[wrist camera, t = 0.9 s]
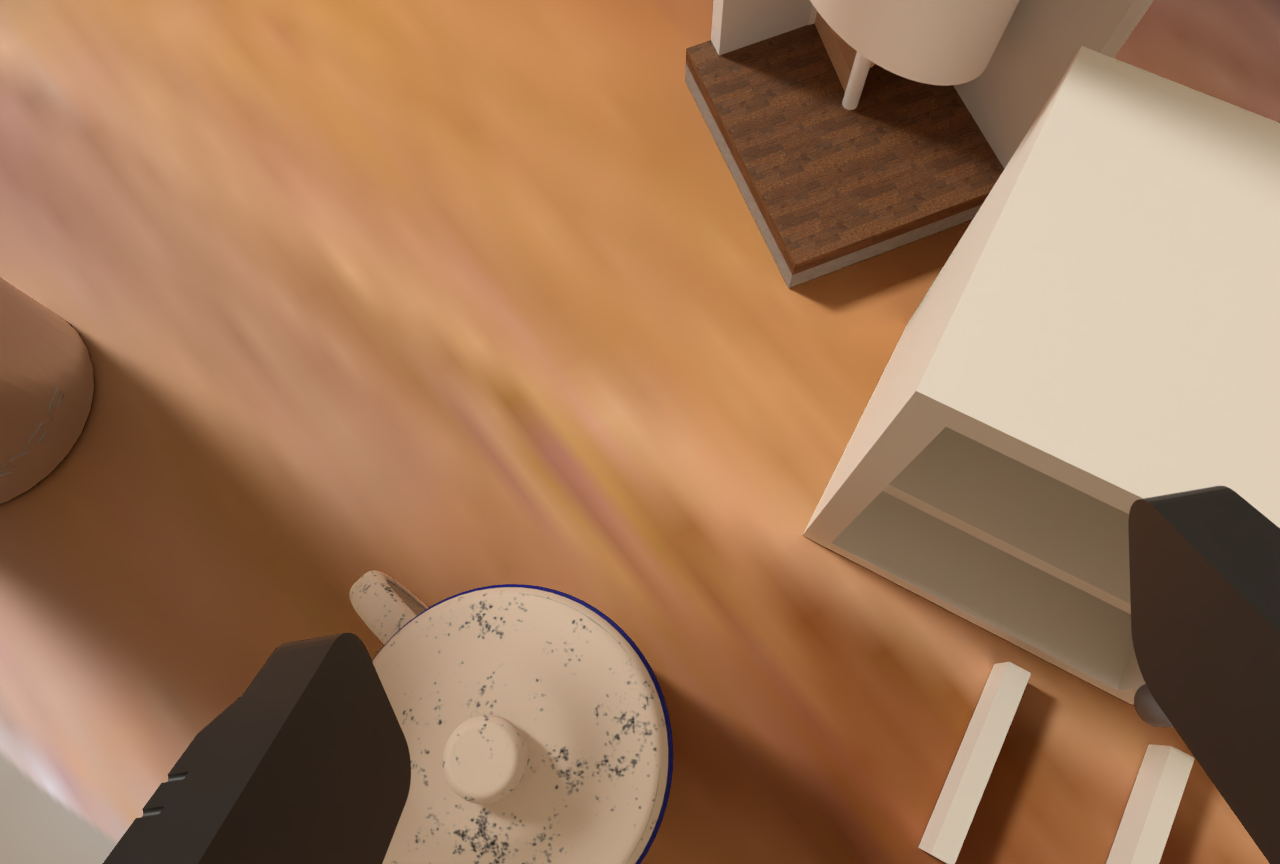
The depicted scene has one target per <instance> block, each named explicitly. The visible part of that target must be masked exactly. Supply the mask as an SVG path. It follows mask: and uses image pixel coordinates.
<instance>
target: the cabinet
mask: <svg viewBox="0 0 1280 864" xmlns="http://www.w3.org/2000/svg"><path fill="white" fill-rule="evenodd" d="M1214 486H1226V487H1228V488H1230V489H1232V490H1233V491H1235V492H1236V493H1237V494H1239V495H1240V496H1241V497H1242V498H1243V499H1245V500H1246V501H1247V502H1248V503H1249V504H1251V505H1252V506H1253V507H1254V508H1256V509H1257V510H1258V511H1259V512H1260V513H1262V514H1263V515H1264V516H1265V517H1267V518H1268V519H1269V520H1270V521H1271V522H1273V523H1274V524H1275V525H1276V526H1277V527H1279V528H1280V123H1278V122H1276V121H1273V120H1271V119H1268V118H1266V117H1263V116H1260V115H1258V114H1255V113H1253V112H1250V111H1248V110H1245V109H1242V108H1240V107H1237V106H1235V105H1232V104H1230V103H1227V102H1225V101H1222V100H1219V99H1217V98H1214V97H1212V96H1209V95H1207V94H1204V93H1201V92H1199V91H1196V90H1194V89H1191V88H1189V87H1186V86H1183V85H1181V84H1178V83H1176V82H1173V81H1171V80H1168V79H1165V78H1163V77H1160V76H1158V75H1155V74H1153V73H1150V72H1148V71H1145V70H1142V69H1140V68H1137V67H1135V66H1132V65H1130V64H1127V63H1124V62H1122V61H1119V60H1117V59H1114V58H1112V57H1109V56H1106V55H1104V54H1101V53H1099V52H1096V51H1094V50H1091V49H1088V48H1086V47H1083V46H1081V48H1080V49H1079V51H1078V53H1077V54H1076V56H1075V57H1074V59H1073V61H1072V62H1071V64H1070V65H1069V67H1068V69H1067V70H1066V72H1065V73H1064V75H1063V76H1062V78H1061V80H1060V81H1059V83H1058V84H1057V86H1056V88H1055V89H1054V91H1053V92H1052V94H1051V96H1050V97H1049V99H1048V100H1047V102H1046V104H1045V105H1044V107H1043V108H1042V110H1041V112H1040V113H1039V115H1038V116H1037V118H1036V120H1035V121H1034V123H1033V124H1032V126H1031V128H1030V129H1029V131H1028V132H1027V134H1026V136H1025V137H1024V139H1023V140H1022V142H1021V143H1020V145H1019V147H1018V148H1017V150H1016V151H1015V153H1014V155H1013V156H1012V158H1011V159H1010V161H1009V163H1008V164H1007V166H1006V167H1005V169H1004V171H1003V172H1002V174H1001V175H1000V177H999V179H998V180H997V182H996V183H995V185H994V187H993V188H992V190H991V191H990V193H989V195H988V196H987V198H986V199H985V201H984V203H983V204H982V206H981V207H980V209H979V211H978V212H977V214H976V215H975V217H974V218H973V220H972V222H971V223H970V225H969V226H968V228H967V230H966V231H965V233H964V234H963V236H962V238H961V239H960V241H959V242H958V244H957V246H956V247H955V249H954V250H953V252H952V254H951V255H950V257H949V258H948V260H947V262H946V263H945V265H944V266H943V268H942V270H941V271H940V273H939V274H938V276H937V278H936V279H935V281H934V282H933V284H932V285H931V287H930V289H929V290H928V292H927V293H926V295H925V297H924V298H923V300H922V301H921V303H920V305H919V306H918V308H917V309H916V311H915V313H914V314H913V316H912V317H911V319H910V321H909V322H908V324H907V325H906V327H905V329H904V332H903V334H902V336H901V338H900V340H899V342H898V344H897V346H896V348H895V350H894V352H893V354H892V356H891V358H890V360H889V362H888V364H887V366H886V368H885V370H884V372H883V374H882V376H881V378H880V380H879V382H878V384H877V386H876V388H875V390H874V392H873V394H872V396H871V398H870V400H869V402H868V404H867V406H866V408H865V410H864V412H863V414H862V416H861V418H860V420H859V422H858V424H857V426H856V428H855V431H854V433H853V435H852V437H851V439H850V441H849V443H848V445H847V447H846V449H845V451H844V453H843V455H842V457H841V459H840V461H839V463H838V465H837V467H836V469H835V471H834V473H833V475H832V477H831V479H830V481H829V483H828V485H827V487H826V489H825V491H824V493H823V495H822V497H821V499H820V501H819V503H818V505H817V507H816V509H815V511H814V513H813V515H812V517H811V519H810V521H809V523H808V525H807V527H806V529H805V532H804V534H803V536H805V537H807V538H809V539H811V540H812V541H814V542H816V543H818V544H820V545H822V546H824V547H826V548H828V549H830V550H832V551H834V552H836V553H838V554H840V555H842V556H844V557H845V558H847V559H849V560H851V561H853V562H855V563H857V564H859V565H861V566H863V567H865V568H867V569H869V570H871V571H873V572H875V573H877V574H878V575H880V576H882V577H884V578H886V579H888V580H890V581H892V582H894V583H896V584H898V585H900V586H902V587H904V588H906V589H908V590H910V591H911V592H913V593H915V594H917V595H919V596H921V597H923V598H925V599H927V600H929V601H931V602H933V603H935V604H937V605H939V606H941V607H943V608H944V609H946V610H948V611H950V612H952V613H954V614H956V615H958V616H960V617H962V618H964V619H966V620H968V621H970V622H972V623H974V624H976V625H977V626H979V627H981V628H983V629H985V630H987V631H989V632H991V633H993V634H995V635H997V636H999V637H1001V638H1003V639H1005V640H1007V641H1009V642H1010V643H1012V644H1014V645H1016V646H1018V647H1020V648H1022V649H1024V650H1026V651H1028V652H1030V653H1032V654H1034V655H1036V656H1038V657H1040V658H1042V659H1043V660H1045V661H1047V662H1049V663H1051V664H1053V665H1055V666H1057V667H1059V668H1061V669H1063V670H1065V671H1067V672H1069V673H1071V674H1073V675H1074V676H1076V677H1078V678H1080V679H1082V680H1084V681H1086V682H1088V683H1090V684H1092V685H1094V686H1096V687H1098V688H1100V689H1102V690H1104V691H1106V692H1107V693H1109V694H1111V695H1113V696H1115V697H1117V698H1119V699H1121V700H1123V701H1125V702H1127V703H1129V704H1134V706H1135V709H1136V711H1137V713H1138V715H1139V716H1140V718H1141V719H1142V720H1143V721H1145V722H1146V723H1148V724H1149V725H1152V726H1155V727H1173V725H1172V724H1171V722H1170V721H1169V720H1168V718H1167V717H1166V715H1165V714H1164V712H1163V711H1162V710H1161V708H1160V707H1159V705H1158V704H1157V703H1156V701H1155V699H1154V698H1153V696H1152V695H1151V693H1150V691H1149V689H1148V687H1147V685H1146V683H1145V681H1144V679H1143V676H1142V674H1141V671H1140V668H1139V665H1138V662H1137V659H1136V655H1135V651H1134V646H1133V640H1132V631H1131V600H1130V565H1129V530H1128V521H1129V512H1130V509H1131V506H1132V504H1133V503H1134V502H1135V501H1136V500H1139V499H1144V498H1149V497H1155V496H1161V495H1167V494H1173V493H1179V492H1185V491H1190V490H1196V489H1202V488H1208V487H1214ZM1030 675H1031V673H1030V672H1028V671H1026V670H1024V669H1023V668H1021V667H1019V666H1017V665H1015V664H1013V663H1011V662H1004V663H997V664H994V666H993V668H992V670H991V673H990V675H989V678H988V680H987V683H986V685H985V687H984V690H983V692H982V695H981V697H980V700H979V702H978V704H977V707H976V709H975V712H974V714H973V716H972V719H971V721H970V724H969V726H968V729H967V731H966V733H965V736H964V738H963V741H962V743H961V745H960V748H959V750H958V753H957V755H956V758H955V760H954V762H953V765H952V767H951V770H950V772H949V774H948V777H947V779H946V782H945V784H944V787H943V789H942V791H941V794H940V796H939V799H938V801H937V803H936V806H935V808H934V811H933V813H932V816H931V818H930V820H929V823H928V825H927V828H926V830H925V833H924V835H923V837H922V840H921V842H920V845H919V847H918V848H920V849H922V850H924V851H925V852H927V853H929V854H931V855H932V856H934V857H936V858H938V859H939V860H941V861H943V862H945V863H947V864H955V862H956V860H957V857H958V855H959V852H960V850H961V847H962V845H963V842H964V840H965V837H966V835H967V832H968V830H969V827H970V825H971V822H972V820H973V817H974V815H975V812H976V810H977V807H978V805H979V802H980V800H981V797H982V795H983V792H984V790H985V787H986V785H987V782H988V780H989V777H990V775H991V772H992V770H993V767H994V765H995V762H996V760H997V757H998V755H999V752H1000V750H1001V747H1002V745H1003V742H1004V740H1005V737H1006V735H1007V732H1008V730H1009V727H1010V725H1011V722H1012V720H1013V717H1014V715H1015V712H1016V710H1017V707H1018V705H1019V702H1020V700H1021V698H1022V695H1023V693H1024V690H1025V688H1026V685H1027V683H1028V680H1029V678H1030ZM1194 759H1195V758H1194V757H1192V756H1190V755H1188V754H1186V753H1184V752H1182V751H1180V750H1179V749H1177V748H1175V747H1173V746H1165V745H1150V744H1148V747H1147V750H1146V753H1145V756H1144V758H1143V761H1142V764H1141V767H1140V770H1139V773H1138V775H1137V778H1136V781H1135V784H1134V787H1133V789H1132V792H1131V795H1130V798H1129V801H1128V804H1127V806H1126V809H1125V812H1124V815H1123V818H1122V820H1121V823H1120V826H1119V829H1118V832H1117V835H1116V837H1115V840H1114V843H1113V846H1112V849H1111V851H1110V854H1109V857H1108V860H1107V863H1106V864H1159V863H1160V860H1161V857H1162V854H1163V851H1164V848H1165V845H1166V842H1167V839H1168V836H1169V833H1170V830H1171V827H1172V824H1173V821H1174V818H1175V815H1176V812H1177V809H1178V807H1179V804H1180V801H1181V798H1182V795H1183V792H1184V789H1185V786H1186V783H1187V780H1188V777H1189V774H1190V771H1191V768H1192V765H1193V762H1194Z"/></svg>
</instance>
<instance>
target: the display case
mask: <svg viewBox="0 0 1280 864" xmlns="http://www.w3.org/2000/svg"><path fill="white" fill-rule="evenodd" d="M1153 1H1154V0H714V4H713V18H712V33H711V40H710V41H707V42H705V43H702V44H699V45H696V46H693V47H690V48H687V49H686V77H685V81H686V83H687V85H688V87H689V89H690V91H691V93H692V95H693V97H694V99H695V101H696V103H697V105H698V107H699V109H700V111H701V113H702V115H703V117H704V119H705V121H706V123H707V125H708V127H709V129H710V131H711V133H712V135H713V137H714V139H715V141H716V143H717V145H718V147H719V149H720V151H721V153H722V155H723V157H724V159H725V161H726V163H727V166H728V168H729V170H730V172H731V174H732V176H733V178H734V180H735V182H736V184H737V186H738V188H739V190H740V192H741V194H742V196H743V198H744V200H745V202H746V204H747V206H748V208H749V210H750V212H751V214H752V216H753V218H754V220H755V222H756V224H757V226H758V228H759V230H760V232H761V234H762V236H763V238H764V240H765V242H766V244H767V246H768V248H769V250H770V252H771V254H772V256H773V258H774V260H775V262H776V264H777V266H778V268H779V270H780V272H781V274H782V276H783V278H784V280H785V282H786V284H787V286H788V288H791V287H793V286H796V285H799V284H801V283H804V282H807V281H809V280H812V279H815V278H817V277H820V276H823V275H825V274H828V273H831V272H833V271H836V270H839V269H841V268H844V267H847V266H849V265H852V264H855V263H857V262H860V261H863V260H866V259H868V258H871V257H874V256H876V255H879V254H882V253H884V252H887V251H890V250H892V249H895V248H898V247H900V246H903V245H906V244H908V243H911V242H914V241H916V240H919V239H922V238H924V237H927V236H930V235H932V234H935V233H938V232H940V231H943V230H946V229H948V228H951V227H954V226H956V225H959V224H962V223H964V222H967V221H970V220H972V219H973V218H974V217H975V215H976V214H977V212H978V211H979V209H980V207H981V206H982V204H983V203H984V201H985V199H986V198H987V196H988V195H989V193H990V191H991V190H992V188H993V187H994V185H995V183H996V182H997V180H998V179H999V177H1000V175H1001V174H1002V172H1003V171H1004V169H1005V167H1006V166H1007V164H1008V163H1009V161H1010V159H1011V158H1012V156H1013V155H1014V153H1015V151H1016V150H1017V148H1018V147H1019V145H1020V143H1021V142H1022V140H1023V139H1024V137H1025V136H1026V134H1027V132H1028V131H1029V129H1030V128H1031V126H1032V124H1033V123H1034V121H1035V120H1036V118H1037V116H1038V115H1039V113H1040V112H1041V110H1042V108H1043V107H1044V105H1045V104H1046V102H1047V100H1048V99H1049V97H1050V96H1051V94H1052V92H1053V91H1054V89H1055V88H1056V86H1057V84H1058V83H1059V81H1060V80H1061V78H1062V76H1063V75H1064V73H1065V72H1066V70H1067V69H1068V67H1069V65H1070V64H1071V62H1072V61H1073V59H1074V57H1075V56H1076V54H1077V53H1078V51H1079V49H1080V48H1081V46H1083V47H1086V48H1088V49H1091V50H1094V51H1096V52H1099V53H1101V54H1104V55H1106V56H1109V57H1112V58H1115V56H1116V55H1117V53H1118V52H1119V50H1120V49H1121V47H1122V46H1123V45H1124V43H1125V42H1126V40H1127V39H1128V37H1129V36H1130V34H1131V33H1132V31H1133V30H1134V29H1135V27H1136V26H1137V24H1138V23H1139V21H1140V20H1141V18H1142V17H1143V15H1144V14H1145V13H1146V11H1147V10H1148V8H1149V7H1150V5H1151V4H1152V2H1153Z"/></svg>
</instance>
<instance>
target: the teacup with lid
mask: <svg viewBox="0 0 1280 864" xmlns="http://www.w3.org/2000/svg"><path fill="white" fill-rule="evenodd" d="M349 597H350V601H351V603H352V605H353V607H354V609H355V611H356V612H357V614H358V615H359V616H360V618H361V619H362V620H363V622H364V623H365V624H366V625H367V626H368V628H369V629H370V630H371V631H372V632H373V633H374V634H375V635H376V636H377V638H378V639H379V640H380V641H381V642H382V643H383V644H384V646H383V647H382V648H381V650H380V651H379V652H378V654H377V655H376V656H375V658H374V659H373V660H372V662H373V665H374V667H375V669H376V672H377V674H378V676H379V678H380V681H381V683H382V685H383V688H384V690H385V692H386V694H387V697H388V699H389V701H390V704H391V706H392V708H393V711H394V713H395V715H396V717H397V720H398V722H399V724H400V727H401V729H402V731H403V734H404V736H405V738H406V741H407V745H408V748H409V754H410V761H411V782H410V789H409V794H408V798H407V801H406V804H405V806H404V809H403V812H402V814H401V817H400V819H399V822H398V824H397V827H396V830H395V832H394V835H393V837H392V840H391V843H390V845H389V848H388V850H387V853H386V855H385V858H384V861H383V863H382V864H640V863H641V862H642V860H643V859H644V857H645V856H646V854H647V852H648V850H649V848H650V846H651V845H652V843H653V841H654V839H655V837H656V834H657V832H658V829H659V827H660V824H661V822H662V819H663V816H664V813H665V809H666V806H667V802H668V797H669V793H670V788H671V780H672V771H673V741H672V730H671V725H670V719H669V714H668V710H667V706H666V703H665V699H664V696H663V694H662V691H661V688H660V686H659V683H658V681H657V679H656V677H655V675H654V673H653V671H652V668H651V667H650V665H649V663H648V662H647V660H646V659H645V657H644V655H643V654H642V652H641V651H640V650H639V648H638V647H637V646H636V644H635V643H634V642H633V641H632V639H631V638H630V637H629V636H628V635H627V634H626V633H625V632H624V631H623V630H622V629H621V628H620V627H619V626H618V625H617V624H616V623H615V622H613V621H612V620H611V619H610V618H609V617H607V616H606V615H605V614H603V613H602V612H600V611H599V610H598V609H596V608H594V607H593V606H591V605H589V604H587V603H586V602H584V601H582V600H580V599H577V598H575V597H573V596H571V595H568V594H565V593H562V592H559V591H556V590H553V589H548V588H544V587H539V586H531V585H516V584H506V585H493V586H487V587H482V588H477V589H473V590H469V591H466V592H462V593H460V594H457V595H454V596H452V597H449V598H447V599H445V600H443V601H441V602H439V603H437V604H435V605H433V606H431V607H429V608H428V607H427V606H426V605H425V604H424V603H423V602H422V601H421V600H419V599H418V598H417V597H416V596H415V595H414V594H412V593H411V592H410V591H409V590H408V589H406V588H405V587H404V586H403V585H401V584H400V583H399V582H397V581H396V580H395V579H393V578H392V577H390V576H389V575H387V574H385V573H383V572H380V571H376V570H372V571H368V572H367V573H365V574H364V575H363V576H362V577H361V578H359V579H358V580H357V581H356V582H355V583H354V584H353V586H352V587H351V589H350V592H349Z"/></svg>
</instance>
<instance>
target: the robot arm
mask: <svg viewBox="0 0 1280 864" xmlns="http://www.w3.org/2000/svg"><path fill="white" fill-rule="evenodd" d="M93 391H94V379H93V366H92V363H91V359H90V356H89V353H88V350H87V347H86V346H85V344H84V342H83V341H82V339H81V338H80V336H79V334H78V333H77V331H76V330H75V329H74V328H72V327H71V326H70V325H69V324H68V323H67V322H66V321H65V320H64V319H63V318H62V317H60V316H58V315H57V314H55V313H54V312H52V311H51V310H49V309H48V308H46V307H45V306H43V305H42V304H40V303H39V302H37V301H35V300H34V299H32V298H31V297H29V296H28V295H26V294H25V293H23V292H22V291H20V290H19V289H17V288H16V287H14V286H13V285H11V284H9V283H8V282H6V281H5V280H3V279H2V278H0V504H1V503H4V502H7V501H9V500H11V499H13V498H15V497H16V496H18V495H20V494H22V493H24V492H26V491H28V490H29V489H31V488H32V487H33V486H35V485H36V484H37V483H39V482H40V481H41V480H42V479H44V478H45V477H46V476H47V475H49V474H50V473H51V472H52V471H53V470H54V469H55V468H56V467H57V466H58V464H59V463H60V462H61V461H62V460H63V459H64V458H65V457H66V456H67V454H68V453H69V452H70V450H71V448H72V447H73V445H74V444H75V442H76V440H77V439H78V437H79V436H80V434H81V433H82V430H83V427H84V425H85V422H86V420H87V417H88V415H89V412H90V409H91V403H92V397H93ZM1128 530H1129V565H1130V600H1131V631H1132V640H1133V646H1134V651H1135V655H1136V659H1137V662H1138V665H1139V668H1140V671H1141V674H1142V676H1143V679H1144V681H1145V683H1146V685H1147V687H1148V689H1149V691H1150V693H1151V695H1152V696H1153V698H1154V699H1155V701H1156V703H1157V704H1158V705H1159V707H1160V708H1161V710H1162V711H1163V712H1164V714H1165V715H1166V717H1167V718H1168V720H1169V721H1170V722H1171V724H1172V725H1173V727H1174V728H1175V729H1176V731H1177V732H1178V734H1179V735H1180V737H1181V738H1182V739H1183V741H1184V742H1185V744H1186V745H1187V747H1188V748H1189V749H1190V751H1191V752H1192V754H1193V755H1194V756H1195V758H1196V759H1197V761H1198V762H1199V764H1200V765H1201V766H1202V768H1203V769H1204V771H1205V772H1206V774H1207V775H1208V776H1209V778H1210V779H1211V781H1212V782H1213V783H1214V785H1215V786H1216V788H1217V789H1218V791H1219V792H1220V793H1221V795H1222V796H1223V798H1224V799H1225V801H1226V802H1227V803H1228V805H1229V806H1230V808H1231V809H1232V810H1233V812H1234V813H1235V815H1236V816H1237V818H1238V819H1239V820H1240V822H1241V823H1242V825H1243V826H1244V828H1245V829H1246V830H1247V832H1248V833H1249V835H1250V836H1251V837H1252V839H1253V840H1254V842H1255V843H1256V845H1257V846H1258V847H1259V849H1260V850H1261V852H1262V853H1263V855H1264V856H1265V857H1266V859H1267V860H1268V862H1269V863H1270V864H1280V528H1279V527H1277V526H1276V525H1275V524H1274V523H1273V522H1271V521H1270V520H1269V519H1268V518H1267V517H1265V516H1264V515H1263V514H1262V513H1260V512H1259V511H1258V510H1257V509H1256V508H1254V507H1253V506H1252V505H1251V504H1249V503H1248V502H1247V501H1246V500H1245V499H1243V498H1242V497H1241V496H1240V495H1239V494H1237V493H1236V492H1235V491H1233V490H1232V489H1230V488H1228V487H1226V486H1214V487H1208V488H1202V489H1196V490H1190V491H1185V492H1179V493H1173V494H1167V495H1161V496H1155V497H1149V498H1144V499H1139V500H1136V501H1135V502H1134V503H1133V504H1132V506H1131V509H1130V512H1129V521H1128ZM410 782H411V761H410V754H409V748H408V745H407V741H406V738H405V736H404V734H403V731H402V729H401V727H400V724H399V722H398V720H397V717H396V715H395V713H394V711H393V708H392V706H391V704H390V701H389V699H388V697H387V694H386V692H385V690H384V688H383V685H382V683H381V681H380V678H379V676H378V674H377V672H376V669H375V667H374V665H373V662H372V660H371V658H370V655H369V653H368V651H367V649H366V647H365V645H364V644H363V642H362V641H361V640H360V639H359V638H358V637H357V636H356V635H354V634H352V633H342V634H336V635H331V636H325V637H319V638H313V639H307V640H301V641H295V642H290V643H285V644H282V645H280V646H279V647H278V648H276V650H275V651H274V652H273V653H272V654H271V656H270V657H269V659H268V660H267V662H266V663H265V664H264V666H263V667H262V669H261V670H260V672H259V673H258V674H257V676H256V677H255V679H254V680H253V681H252V683H251V684H250V686H249V687H248V689H247V690H246V691H245V693H244V694H243V696H242V697H239V698H238V699H237V700H236V701H235V702H234V703H233V704H231V705H230V706H229V707H228V708H227V709H226V710H225V711H223V712H222V713H221V714H220V715H219V716H218V717H217V718H215V719H214V720H213V721H212V722H211V723H210V724H209V725H207V726H206V727H205V728H204V729H203V730H202V731H201V732H199V733H198V734H197V735H196V737H195V738H194V740H193V741H192V742H191V744H190V745H189V746H188V748H187V749H186V751H185V752H184V753H183V755H182V756H181V757H180V759H179V760H178V761H177V763H176V764H175V766H174V767H173V768H172V770H171V771H170V772H169V774H168V782H166V783H161V785H160V786H159V787H158V789H157V790H156V792H155V793H154V794H153V796H152V797H151V798H150V800H149V801H148V803H147V804H146V805H145V807H144V808H143V817H141V818H136V819H135V820H134V822H133V823H132V824H131V826H130V827H129V829H128V830H127V831H126V833H125V834H124V835H123V837H122V838H121V839H120V841H119V842H118V844H117V845H116V846H115V848H114V849H113V850H112V852H111V853H110V855H109V856H108V857H107V859H106V860H105V861H104V863H103V864H382V863H383V861H384V858H385V855H386V853H387V850H388V848H389V845H390V843H391V840H392V837H393V835H394V832H395V830H396V827H397V824H398V822H399V819H400V817H401V814H402V812H403V809H404V806H405V804H406V801H407V798H408V794H409V789H410Z"/></svg>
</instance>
